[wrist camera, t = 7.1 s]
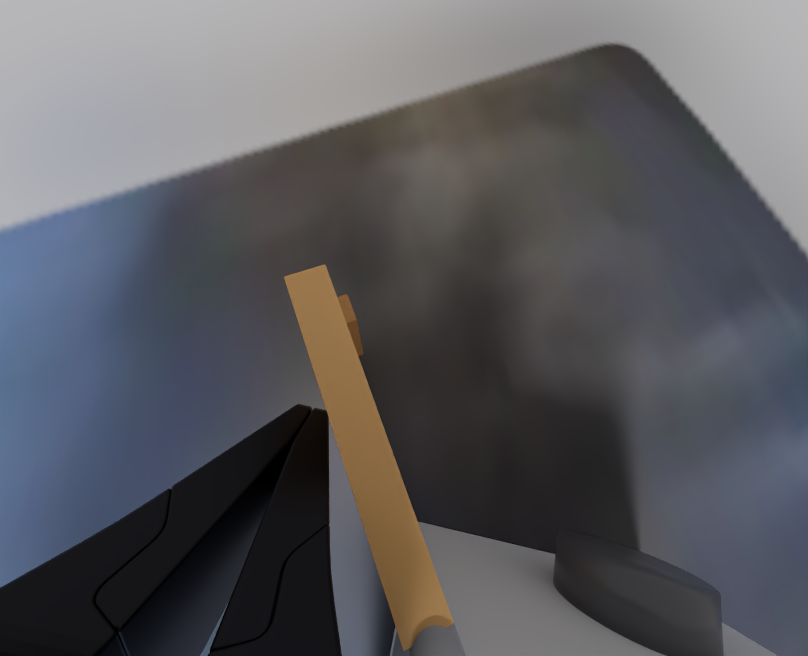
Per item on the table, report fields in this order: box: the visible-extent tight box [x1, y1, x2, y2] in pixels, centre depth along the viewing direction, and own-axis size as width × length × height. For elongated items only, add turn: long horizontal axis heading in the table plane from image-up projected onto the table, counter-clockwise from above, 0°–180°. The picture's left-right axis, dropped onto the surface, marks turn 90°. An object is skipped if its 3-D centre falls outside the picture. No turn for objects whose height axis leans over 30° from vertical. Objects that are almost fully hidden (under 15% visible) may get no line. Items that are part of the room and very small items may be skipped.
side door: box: [284, 264, 462, 656], centre depth 10 cm, size 8×1×8 cm, turn 21°
